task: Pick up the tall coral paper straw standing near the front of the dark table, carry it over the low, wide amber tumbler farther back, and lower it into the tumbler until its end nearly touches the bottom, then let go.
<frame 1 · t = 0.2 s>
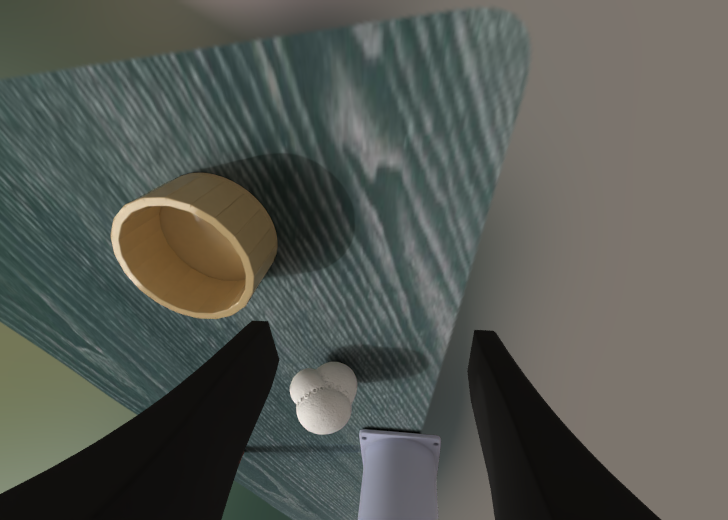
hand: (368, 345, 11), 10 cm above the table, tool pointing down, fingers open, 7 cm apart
microfossil shell: (329, 365, 28), on the table
tumbler: (218, 232, 22), on the table
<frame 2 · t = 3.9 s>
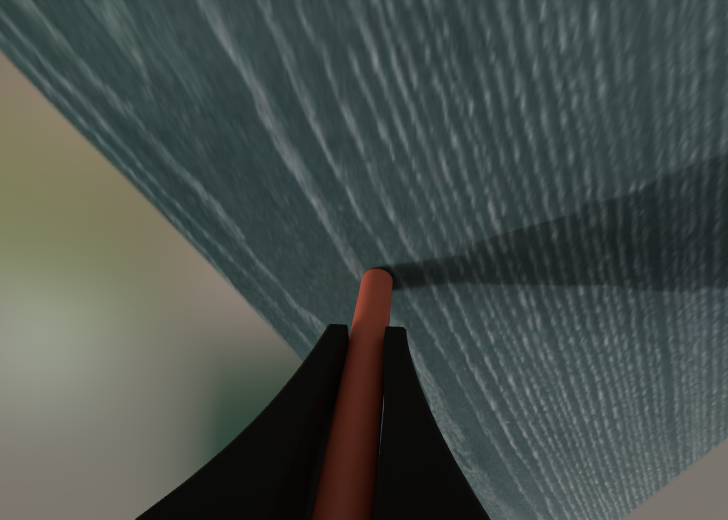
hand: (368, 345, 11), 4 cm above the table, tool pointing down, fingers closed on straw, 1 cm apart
straw: (377, 280, 15), on the table, touching gripper
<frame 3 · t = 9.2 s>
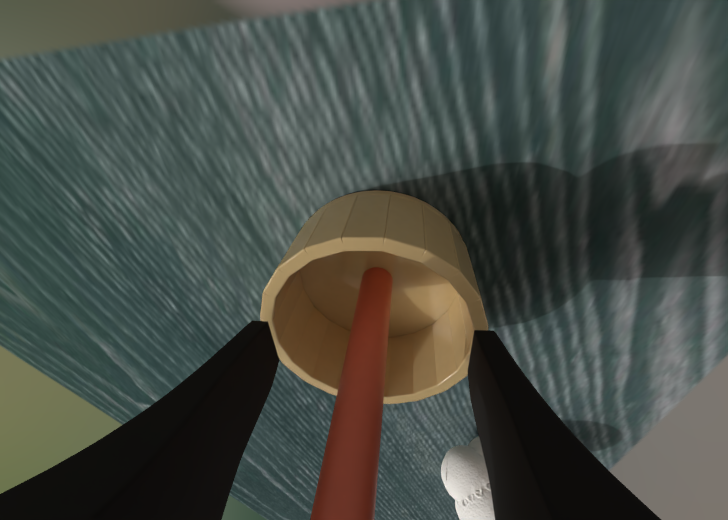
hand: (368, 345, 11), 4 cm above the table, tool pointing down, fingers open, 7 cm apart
microfossil shell: (474, 435, 22), on the table
tumbler: (378, 273, 15), on the table, touching straw
straw: (377, 279, 15), resting on tumbler
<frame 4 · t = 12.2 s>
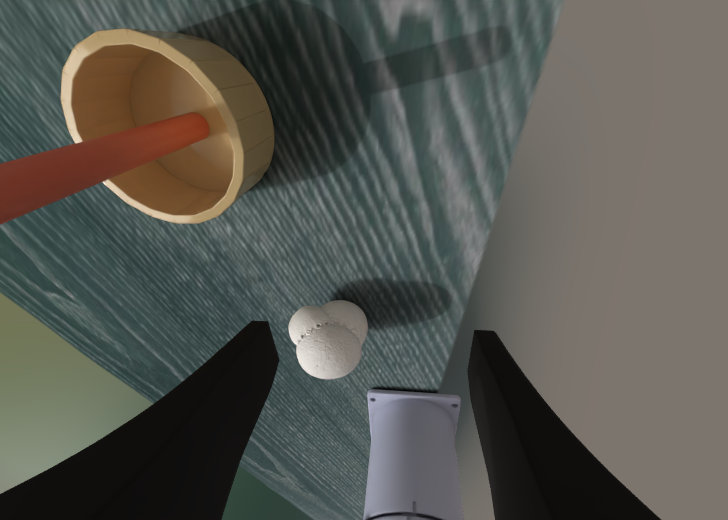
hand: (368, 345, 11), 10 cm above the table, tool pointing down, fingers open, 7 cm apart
microfossil shell: (334, 308, 24), on the table
tumbler: (202, 124, 18), on the table, touching straw
straw: (197, 126, 17), resting on tumbler
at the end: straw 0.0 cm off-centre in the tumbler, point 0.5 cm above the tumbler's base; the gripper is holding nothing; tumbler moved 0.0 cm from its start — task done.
